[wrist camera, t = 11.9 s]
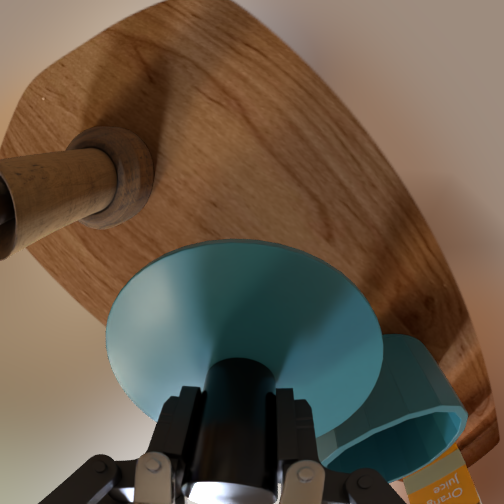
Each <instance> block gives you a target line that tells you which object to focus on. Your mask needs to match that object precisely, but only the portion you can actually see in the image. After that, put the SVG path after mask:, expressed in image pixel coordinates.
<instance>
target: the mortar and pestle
mask: <svg viewBox="0 0 504 504" xmlns="http://www.w3.org/2000/svg"><path fill="white" fill-rule="evenodd" d="M153 177H154V171H153V163H152V158H151V155H150V153H149V150H148V148H147V147H146V145H145V143H144V142H143V141H142V140H141V139H140V138H139V137H138V136H137V135H136V134H134V133H133V132H131V131H129V130H127V129H124V128H120V127H107V126H99V127H93V128H90V129H87V130H85V131H83V132H81V133H80V134H79V135H77V136H76V137H75V138H74V139H73V140H72V142H71V143H70V144H69V146H68V147H67V149H66V150H65V151H59V152H50V153H42V154H34V155H27V156H20V157H14V158H8V159H2V160H0V261H2V260H5V259H7V258H8V257H10V256H12V255H13V254H15V253H17V252H19V251H20V250H22V249H24V248H25V247H27V246H29V245H30V244H32V243H34V242H36V241H38V240H39V239H41V238H43V237H45V236H47V235H49V234H51V233H53V232H55V231H56V230H59V229H60V228H62V227H65V226H67V225H69V224H71V223H73V222H75V221H77V220H78V221H79V222H80V223H82V224H83V225H85V226H87V227H90V228H94V229H109V228H112V227H115V226H117V225H119V224H121V223H123V222H125V221H126V220H128V219H130V218H132V217H133V216H135V215H136V214H137V213H138V212H139V211H140V210H141V209H142V208H143V207H144V205H145V204H146V202H147V200H148V198H149V196H150V193H151V190H152V186H153Z"/></svg>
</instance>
